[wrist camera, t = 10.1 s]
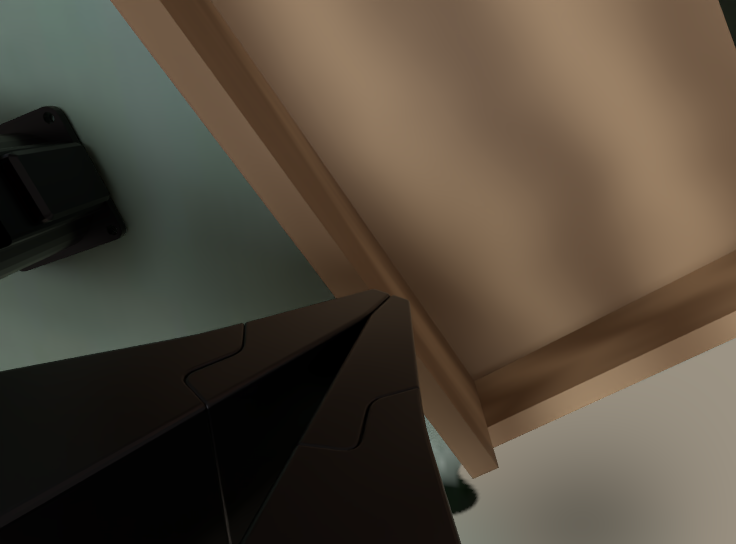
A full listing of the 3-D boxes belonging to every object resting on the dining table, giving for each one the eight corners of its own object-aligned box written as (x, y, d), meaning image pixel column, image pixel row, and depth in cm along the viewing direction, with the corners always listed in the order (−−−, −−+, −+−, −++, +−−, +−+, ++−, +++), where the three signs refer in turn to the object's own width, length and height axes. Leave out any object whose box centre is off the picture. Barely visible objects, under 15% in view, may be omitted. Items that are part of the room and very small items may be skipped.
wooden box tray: (455, 358, 24) (487, 497, 16) (164, -59, 18) (-36, -193, 10) (762, 197, 20) (1021, 270, 12) (530, -412, 14) (734, -1170, 6)
